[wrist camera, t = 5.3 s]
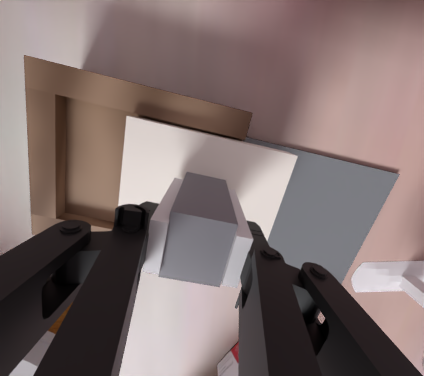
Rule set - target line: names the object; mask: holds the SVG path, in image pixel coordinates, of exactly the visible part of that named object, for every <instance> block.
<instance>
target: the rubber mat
mask: <svg viewBox="0 0 424 376" xmlns="http://www.w3.org/2000/svg"><path fill="white" fill-rule="evenodd" d="M243 142H247V143H252V144H256V145H260V146H264V147H269V148H273V149H277V150H281V151H286V152H289V153H291V154H294V155H296V156H298V157H297V160H296V163H295V165H294V168H293V171H292V174H291V177H290V179H289V182H288V185H287V188H286V190H285V193H284V196H283V199H282V202H281V204H280V207H279V210H278V213H277V215H276V218H275V221H274V224H273V226H272V229H271V232H270V235H269V238H268V240H267V242H268V244H269V246H270V247H271V248H273V249H275V250H277V251H278V252H279V253H280V254H281V255H282V256H283V258H284V261H285V263H286V264H288V265H291V266H293V267H296V268H299V269H301V267H302V264H303V263H305V262H311V263H316V264H318V265H321V266H322V267H323V268H325V269H327V270H328V271H329V272H330V273H331V274H332V275H333V276H334V277H335V278H336V279H337V280H338V282H339V283H340V284H341V283H342V281H343V280H344V278H345V276H346V274H347V272H348V270H349V268H350V266H351V265H352V263H353V261H354V259H355V257H356V255H357V253H358V251H359V250H360V248H361V246H362V244H363V242H364V240H365V238H366V236H367V235H368V233H369V231H370V229H371V227H372V225H373V223H374V221H375V220H376V218H377V216H378V214H379V212H380V210H381V208H382V206H383V205H384V203H385V201H386V199H387V197H388V195H389V193H390V191H391V190H392V188H393V186H394V184H395V182H396V180H397V178H398V177H399V175H400V174H396V173H392V172H388V171H384V170H380V169H376V168H371V167H367V166H363V165H359V164H355V163H351V162H347V161H343V160H338V159H334V158H330V157H326V156H322V155H318V154H314V153H309V152H305V151H301V150H297V149H293V148H289V147H285V146H281V145H276V144H272V143H268V142H264V141H260V140H256V139H252V138H248V137H246V139H245V140H243Z"/></svg>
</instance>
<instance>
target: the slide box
mask: <svg viewBox="0 0 424 376" xmlns="http://www.w3.org/2000/svg"><path fill="white" fill-rule="evenodd" d="M24 69H25V91H26V113H27V135H28V157H29V179H30V201H31V223H32V234H33V235H37V234H39V233H41V232H42V231H44V230H46V229H47V228H49V227H51V226H53V225H54V224H57V223H59V222H62V221H67V220H81V221H85V222H88V223H89V224H90V225H91V231H111V230H112V229H113V227H114V218H115V209H116V208H117V207H118V202H119V191H120V181H121V170H122V159H123V149H124V138H125V127H126V116H137V117H141V118H146V119H150V120H154V121H158V122H163V123H167V124H171V125H175V126H180V127H184V128H188V129H192V130H196V131H201V132H205V133H209V134H213V135H218V136H222V137H226V138H230V139H235V140H239V141H242V139H243V140H245V139H246V135H247V131H248V128H249V124H250V121H251V117H252V113H251V112H247V111H243V110H239V109H235V108H231V107H227V106H223V105H219V104H216V103H212V102H208V101H204V100H200V99H196V98H192V97H188V96H184V95H180V94H176V93H172V92H168V91H164V90H160V89H156V88H152V87H148V86H145V85H141V84H137V83H133V82H129V81H125V80H121V79H117V78H113V77H109V76H105V75H101V74H97V73H93V72H89V71H85V70H81V69H77V68H74V67H70V66H66V65H62V64H58V63H54V62H50V61H46V60H42V59H38V58H34V57H30V56H26V55H24Z"/></svg>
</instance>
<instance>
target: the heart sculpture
mask: <svg viewBox="0 0 424 376" xmlns="http://www.w3.org/2000/svg"><path fill="white" fill-rule="evenodd" d="M351 280H352V286H353V288H354V291H355V292H383V291H405V292H406V293H407V294H408V295H409V296H410V297H412V298H413V299H414V300H415V301H416V302H417V303H418V304H420V305H421V306H422V307H423V308H424V261H392V262H363V263H362V264H361V265H360V266H359V267H358V268H357V270H356V271H355V272H354V274H353V276H352V278H351ZM422 365H423V368H424V353H423V359H422Z"/></svg>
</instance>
